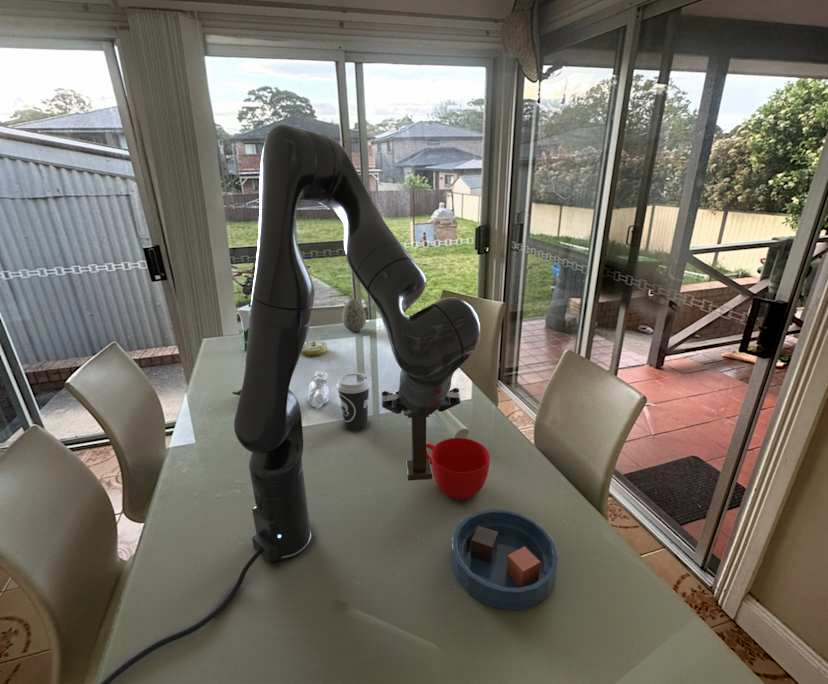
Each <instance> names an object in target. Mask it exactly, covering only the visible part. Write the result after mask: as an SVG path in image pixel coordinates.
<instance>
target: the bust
mask: <svg viewBox="0 0 828 684" xmlns="http://www.w3.org/2000/svg"><path fill="white" fill-rule="evenodd" d="M312 380H313V381H311V382H310V383H309V386H308V388H307V392H308V395H307V403H308V404H309V405H310V406H311V407H312V408H315V409H321V407H322V406H324V405H326V404H327V403H328V402H329V400H330V399H329V398H330V388H329V387H328V386H327V385H326V383H327V382H328V381H329V380H330V375H329V374H328V373H327V372H326V371H316V372H315V374H314V375H313V376H312Z"/></svg>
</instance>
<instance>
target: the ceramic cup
mask: <svg viewBox="0 0 828 684" xmlns="http://www.w3.org/2000/svg"><path fill="white" fill-rule="evenodd" d="M428 449H430V450H431V455H430V454H429V451H428ZM426 460H430V465H431V471H432V476H433V477H434V480H435V483H436V485H437V486H438V488H439V490H441V492H443V494H444V495H446V496H448V498H451V499H453V500H463V501H464V500H467V499H470V498H472V497H473V496H475V495H477V494H478V493H479V492H480V490H481V489H482V488H483V487H484V485H485V483H486V481H487V477H488V474H489V469H490V461H491V456H490V452H489V451H488V449H487V448H486V447H485V446H484V445H483V444H482V443H480V442H478V441H476V440H474V439H470V438H452V437H451V438H447V439H444V440H441V441H439V442H437V443H436V444H435V445H434V444H432V443H430V442H426Z"/></svg>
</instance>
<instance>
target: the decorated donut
mask: <svg viewBox="0 0 828 684" xmlns="http://www.w3.org/2000/svg"><path fill="white" fill-rule="evenodd" d="M327 350H328V343H327V342H326V341H324V340H309V341H305V343H304V346H303V349H302V352H301V354H302V355H303V356H307V357H308V356H309V357H312V356H313V357H315V356H322V355H323V354H325V353H326V352H327Z"/></svg>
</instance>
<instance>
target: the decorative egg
mask: <svg viewBox="0 0 828 684" xmlns="http://www.w3.org/2000/svg"><path fill="white" fill-rule="evenodd" d="M341 320H342V323H343V325H344V327H345V328H346V329H347V330H348V331H350V332H355V333H356V332H358V331H361V330H362V329H363V328H364V327H365V325H366V323H367V314H366V310H365V308H364V306H363V305H362V303H361V302H360V301H359V300H357V299H355V298H352V299H349V300H348V301H347V302H346V304H345V305H344V307H343V309H342V314H341Z"/></svg>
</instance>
